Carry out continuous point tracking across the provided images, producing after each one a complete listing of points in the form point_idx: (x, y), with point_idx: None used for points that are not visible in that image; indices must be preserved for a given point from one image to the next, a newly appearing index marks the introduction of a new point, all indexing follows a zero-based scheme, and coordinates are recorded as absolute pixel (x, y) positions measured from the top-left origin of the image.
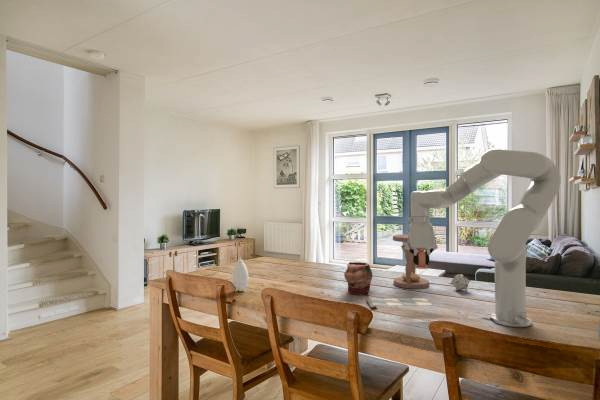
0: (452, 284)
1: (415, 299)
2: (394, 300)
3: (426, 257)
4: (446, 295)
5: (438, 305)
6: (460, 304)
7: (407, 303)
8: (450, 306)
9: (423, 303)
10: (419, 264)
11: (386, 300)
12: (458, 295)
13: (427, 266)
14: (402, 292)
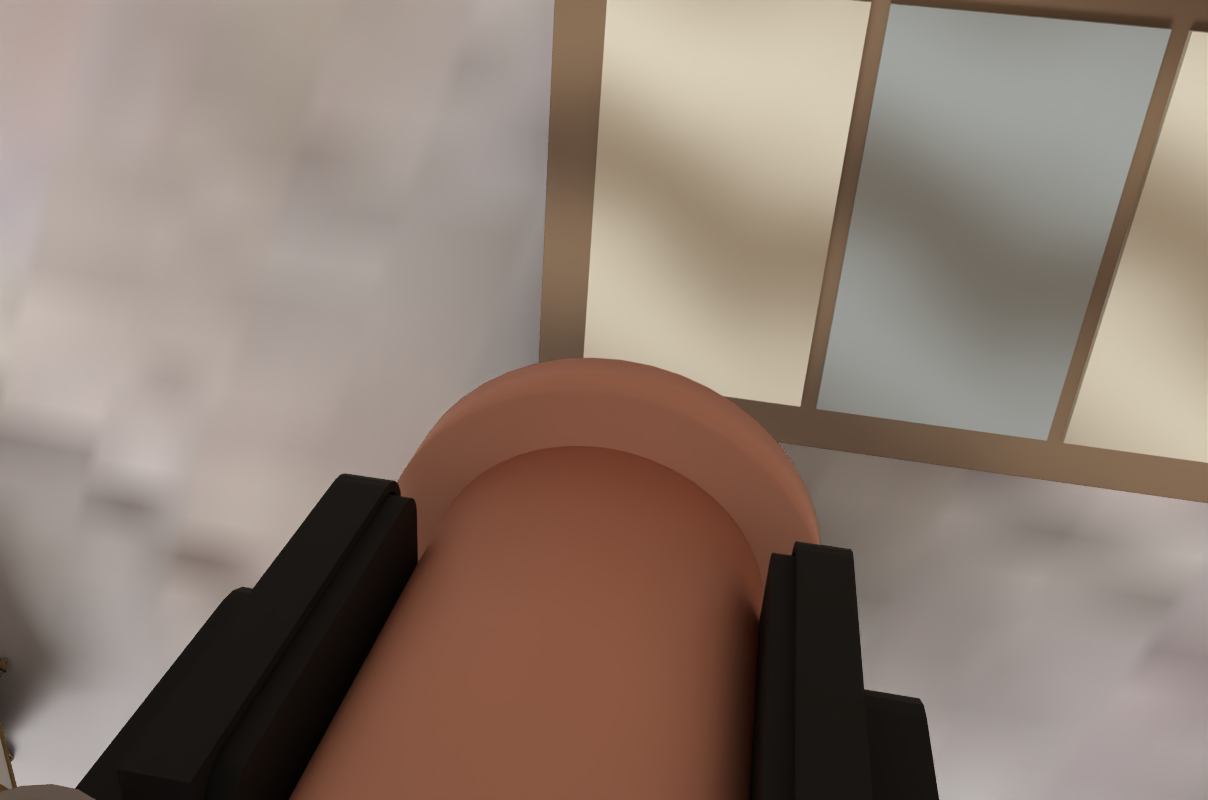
0: (12, 777)
1: (763, 340)
2: (1172, 341)
3: (279, 709)
4: (193, 549)
5: (461, 106)
6: (111, 113)
7: (1026, 130)
8: (289, 26)
9: (728, 91)
10: (713, 550)
11: None
12: (40, 519)
13: (397, 482)
14: None
